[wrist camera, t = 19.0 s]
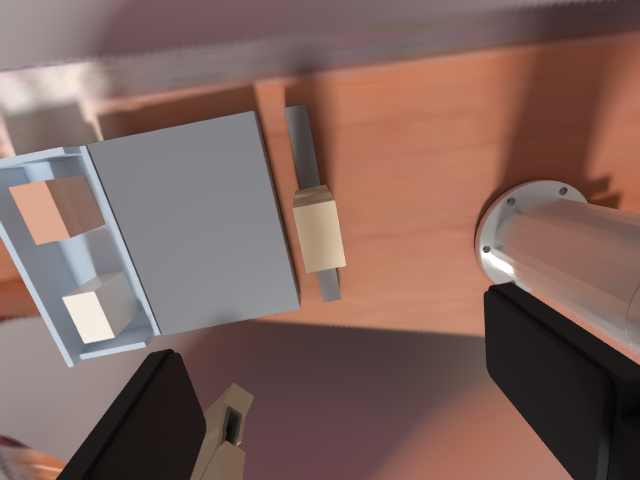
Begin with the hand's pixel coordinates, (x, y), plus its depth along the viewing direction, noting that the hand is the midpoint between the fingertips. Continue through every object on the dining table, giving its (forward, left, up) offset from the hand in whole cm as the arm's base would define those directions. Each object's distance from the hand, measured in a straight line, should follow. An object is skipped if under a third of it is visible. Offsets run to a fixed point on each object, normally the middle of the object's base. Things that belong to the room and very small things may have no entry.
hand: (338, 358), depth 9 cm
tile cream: (+21, +5, -21) cm, 30 cm away
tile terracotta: (+21, -5, -21) cm, 30 cm away
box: (+23, 0, -24) cm, 33 cm away
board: (+11, 0, -24) cm, 27 cm away
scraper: (0, 0, -25) cm, 25 cm away
